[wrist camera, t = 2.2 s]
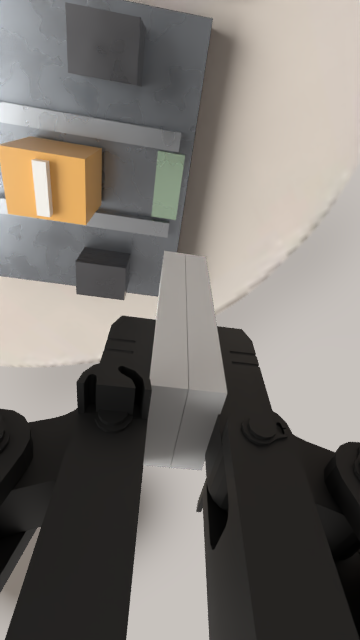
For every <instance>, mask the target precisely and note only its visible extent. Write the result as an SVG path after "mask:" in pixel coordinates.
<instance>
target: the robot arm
mask: <svg viewBox="0 0 360 640" xmlns="http://www.w3.org/2000/svg"><path fill="white" fill-rule="evenodd" d="M255 354H256V353H255V350H254V347H253V343H252V341H251V340H250V338H249V337H248V336H247V335H246V334H245V333H244V331H243V330H242V329H234V328H226V327H218V326H217V324H216V317H215V311H214V305H213V298H212V292H211V285H210V279H209V273H208V266H207V260H206V257H205V256H198V255H191V254H184V253H177V252H170V251H164V256H163V264H162V272H161V280H160V287H159V295H158V303H157V311H156V319H155V320H153V319H145V318H137V317H129V316H121V317H120V318H119V319H118V320H117V321H116V322H114V323H113V324H112V325H111V329H110V332H109V335H108V340H107V342H106V345H105V349H104V351H103V355H102V358H101V361H100V363H99V364H96V365H93V366H92V367H90V368H89V369H87V370H86V371H85V372H83V373H82V375H81V376H80V378H79V380H78V381H77V402H78V408H77V409H76V410H74V411H72V412H70V413H68V414H66V415H63V416H60V417H56V418H52V419H46V420H40V421H35V422H29V423H28V422H27V421H26V419H25V417H24V416H22V415H20V414H19V413H17V412H15V411H13V410H5V409H0V592H1V591H2V589H3V587H4V585H5V583H6V582H7V580H8V578H9V577H10V575H11V573H12V571H13V569H14V568H15V566H16V564H17V562H18V561H19V559H20V557H21V555H22V554H23V552H24V550H25V548H26V547H27V545H28V543H29V541H30V539H31V538H32V536H33V534H34V533H35V531H36V529H37V528H38V527H41V529H40V532H39V536H38V539H37V542H36V545H35V548H34V551H33V554H32V557H31V560H30V563H29V567H28V570H27V573H26V576H25V579H24V582H23V585H22V589H21V591H20V595H19V598H18V601H17V604H16V607H15V610H14V613H13V616H12V619H11V623H10V626H9V629H8V632H7V635H6V638H5V640H126V635H127V625H128V615H129V605H130V593H131V584H132V574H133V564H134V554H135V544H136V543H135V542H136V533H137V524H138V513H139V503H140V493H141V483H142V473H143V465H146V466H158V467H169V468H170V467H171V468H181V469H192V470H202V467H203V464H204V461H206V476H207V478H206V481H205V483H204V486H203V489H202V492H201V495H200V497H199V500H198V505H197V512H201V511H202V508H203V518H204V537H205V559H206V578H207V600H208V620H209V640H360V443H359V442H348V443H345V444H343V445H341V446H340V447H339V448H338V449H337V451H336V452H332V451H330V450H327V449H325V448H322V447H319V446H317V445H314V444H311V443H309V442H306V441H304V440H302V439H300V438H298V437H296V436H295V435H293V434H292V432H291V430H290V428H289V427H288V425H287V423H286V422H285V421H284V420H283V419H282V418H281V417H280V416H279V415H278V414H277V413H275V412H273V411H272V409H271V405H270V401H269V398H268V394H267V391H266V388H265V384H264V381H263V377H262V374H261V371H260V367H258V366H259V364H258V360H257V357H256V356H255ZM170 465H171V466H170Z"/></svg>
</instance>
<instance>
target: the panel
mask: <svg viewBox="0 0 360 640" xmlns="http://www.w3.org/2000/svg"><path fill="white" fill-rule="evenodd" d="M212 20H213V19H212V18H208V17H203V16H198V15H193V14H188V13H183V12H178V11H173V10H168V9H164V8H159V7H154V6H149V5H144V4H139V3H134V2H129V1H124V0H0V144H3V143H7V142H11V141H15V140H18V139H22V138H26V137H30V136H32V137H38V138H44V139H50V140H56V141H62V142H68V143H74V144H80V145H86V146H92V147H98V148H102V192H101V206H100V207H99V208H98V210H97V211H96V212H95V214H94V215H93V217H92V218H91V219H90V221H89V222H88V223H87V225H80V224H74V223H67V222H60V221H53V220H46V219H39V218H32V217H26V216H19V215H12V214H8V211H7V204H6V198H5V191H4V185H3V178H2V172H1V166H0V276H4V277H12V278H19V279H27V280H35V281H42V282H50V283H58V284H65V285H73V286H76V292H77V294H80V295H88V296H96V297H103V298H111V299H119V300H124V299H125V295H126V292H127V293H135V294H142V295H150V296H158V295H159V287H160V280H161V272H162V264H163V256H164V251H170V252H177V249H178V242H179V236H180V229H181V222H182V216H183V209H184V203H185V196H186V190H187V183H188V177H189V170H190V164H191V157H192V151H193V144H194V138H195V131H196V125H197V118H198V112H199V105H200V99H201V92H202V86H203V79H204V73H205V66H206V60H207V53H208V46H209V40H210V33H211V27H212Z"/></svg>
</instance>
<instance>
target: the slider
mask: <svg viewBox="0 0 360 640" xmlns="http://www.w3.org/2000/svg"><path fill="white" fill-rule="evenodd" d="M0 166H1V172H2V178H3V185H4V191H5V198H6V204H7V211H8V214H12V215H19V216H26V217H32V218H39V219H46V220H53V221H60V222H67V223H74V224H80V225H87V223H88V222H89V221H90V219H91V218H92V217H93V215H94V214H95V212H96V211H97V210H98V208H99V207H100V206H101V192H102V148H98V147H92V146H86V145H80V144H74V143H68V142H62V141H56V140H50V139H44V138H38V137H32V136H30V137H26V138H22V139H18V140H15V141H11V142H7V143H3V144H0Z"/></svg>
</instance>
